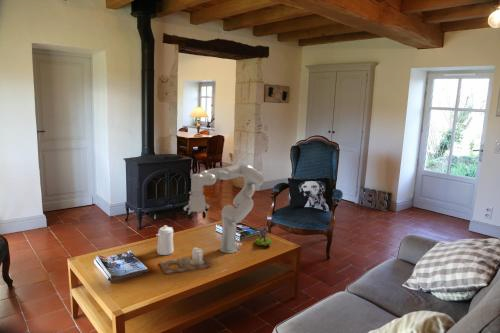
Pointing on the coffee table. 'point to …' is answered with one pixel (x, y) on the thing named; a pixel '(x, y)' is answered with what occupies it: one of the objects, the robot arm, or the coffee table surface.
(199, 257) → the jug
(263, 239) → the animal figurine
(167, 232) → the coffeepot
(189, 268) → the board
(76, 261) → the coffee table surface
